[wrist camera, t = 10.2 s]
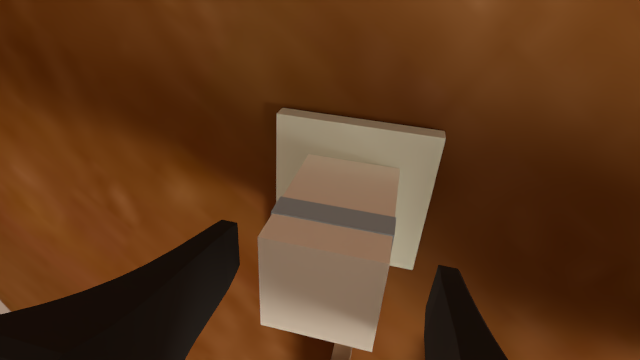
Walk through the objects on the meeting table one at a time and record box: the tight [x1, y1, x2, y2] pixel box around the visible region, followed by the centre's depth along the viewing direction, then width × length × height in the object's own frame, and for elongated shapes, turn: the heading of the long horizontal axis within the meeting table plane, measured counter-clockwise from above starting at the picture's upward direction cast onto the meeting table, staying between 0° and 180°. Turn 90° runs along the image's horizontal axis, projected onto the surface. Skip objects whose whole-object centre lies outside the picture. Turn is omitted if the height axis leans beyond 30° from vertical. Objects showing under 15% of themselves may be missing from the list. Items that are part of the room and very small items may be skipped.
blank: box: [258, 154, 400, 352], centre depth 15 cm, size 4×4×6 cm
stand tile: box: [276, 108, 446, 270], centre depth 17 cm, size 7×7×1 cm
